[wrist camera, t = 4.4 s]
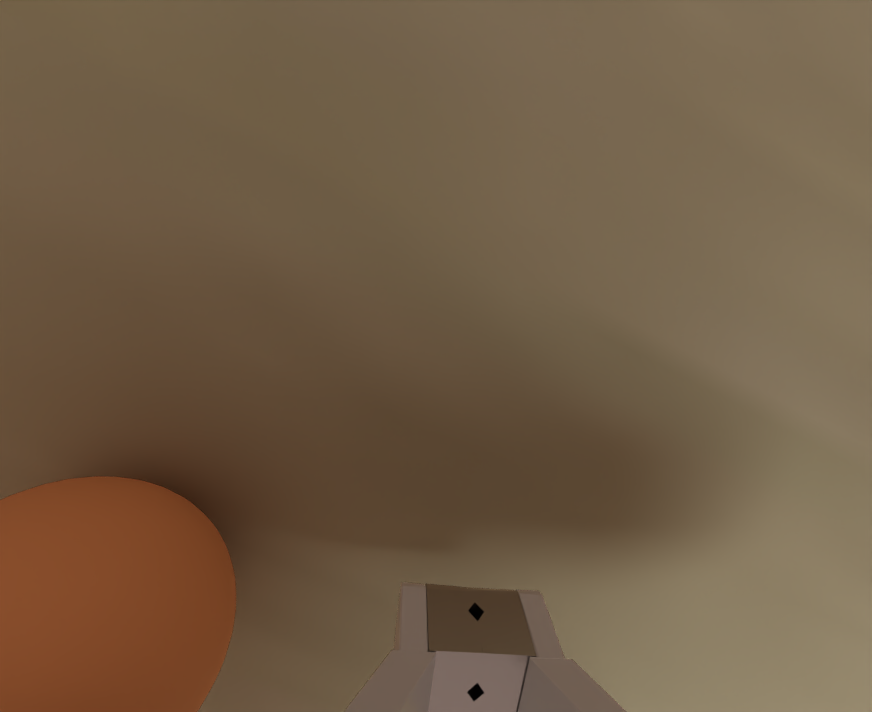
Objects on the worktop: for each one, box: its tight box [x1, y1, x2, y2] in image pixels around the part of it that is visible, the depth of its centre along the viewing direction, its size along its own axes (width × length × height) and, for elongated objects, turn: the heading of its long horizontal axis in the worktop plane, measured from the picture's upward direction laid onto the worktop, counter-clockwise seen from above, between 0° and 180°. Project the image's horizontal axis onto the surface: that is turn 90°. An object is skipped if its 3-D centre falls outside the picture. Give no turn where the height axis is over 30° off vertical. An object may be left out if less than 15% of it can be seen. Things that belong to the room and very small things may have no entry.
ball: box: [0, 476, 236, 712], centre depth 8 cm, size 6×6×6 cm
